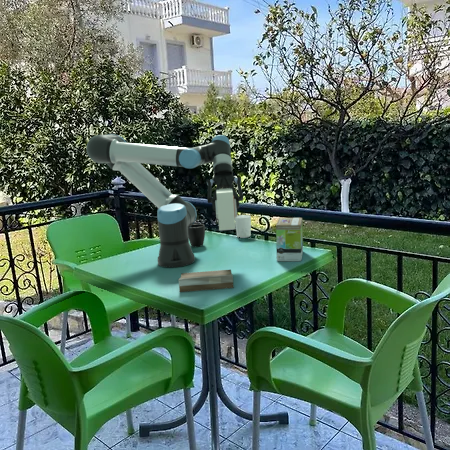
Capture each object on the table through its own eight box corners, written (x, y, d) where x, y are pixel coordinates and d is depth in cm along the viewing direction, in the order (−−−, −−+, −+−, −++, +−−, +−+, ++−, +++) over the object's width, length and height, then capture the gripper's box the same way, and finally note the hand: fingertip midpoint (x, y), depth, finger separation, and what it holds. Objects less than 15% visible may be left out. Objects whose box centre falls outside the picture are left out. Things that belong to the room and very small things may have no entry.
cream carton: (219, 230, 165) (216, 193, 162) (219, 224, 176) (216, 189, 173) (236, 229, 165) (233, 191, 162) (235, 223, 176) (232, 187, 173)
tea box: (302, 261, 172) (301, 224, 169) (276, 261, 174) (274, 224, 171) (303, 251, 187) (302, 216, 184) (279, 251, 189) (278, 217, 186)
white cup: (246, 233, 225) (245, 214, 223) (254, 236, 218) (253, 216, 216) (233, 236, 221) (231, 216, 219) (241, 239, 215) (239, 218, 213)
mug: (208, 241, 215) (206, 221, 213) (204, 247, 203) (203, 227, 201) (191, 241, 216) (189, 222, 214) (187, 248, 204) (185, 228, 202)
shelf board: (181, 278, 162) (180, 266, 161) (231, 274, 162) (230, 263, 161) (179, 292, 148) (178, 279, 147) (233, 288, 148) (232, 275, 147)
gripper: (246, 172, 182) (252, 219, 169) (199, 175, 181) (201, 223, 169) (246, 160, 175) (252, 208, 163) (198, 163, 175) (200, 212, 163)
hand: (226, 215), depth 166 cm, fingers closed on cream carton, 6 cm apart
